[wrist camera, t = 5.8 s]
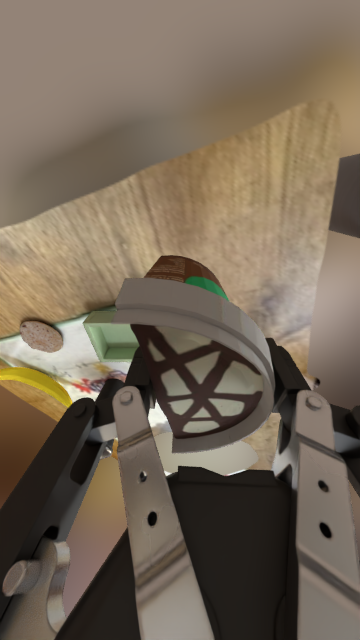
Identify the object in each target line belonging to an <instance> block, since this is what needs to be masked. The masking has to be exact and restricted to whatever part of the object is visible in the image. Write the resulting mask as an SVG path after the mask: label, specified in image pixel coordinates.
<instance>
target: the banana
mask: <svg viewBox="0 0 360 640" xmlns="http://www.w3.org/2000/svg"><path fill="white" fill-rule="evenodd" d="M0 380H16V381H20V382H23V383H26V384H29V385H31V386H34V387H36V388H38V389H40V390H42V391H44V392H46V393H48V394H49V395H51V396H53V397H54V398H56V399H57V400H58V401H60V402H61V403H63V404H64V405H65V406H67V407H68V408H69V406H70V405H71V404H72V400H71V398H70V396H69V394H68V393H67V391H66V390H65V389H64V388H63V387H62V386H61V385H60V384H59V383H57V382H56V381H55V380H53V379H52V378H50V377H49V376H47V375H45V374H43V373H41V372H39V371H36V370H33V369H30V368H24V367H11V368H5V369H0Z"/></svg>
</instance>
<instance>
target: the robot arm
mask: <svg viewBox="0 0 360 640" xmlns="http://www.w3.org/2000/svg"><path fill="white" fill-rule="evenodd" d="M265 339H266V342H267V344H268V346H269V350H270V356H271V361H272V366H273V372H274V379H275V391H274V396H273V397H274V403H273V409H272V413H280V415H281V420H280V424H279V432H278V440H277V448H276V456H275V459H274V462H273V465H272V469H271V470H250V469H249V470H246V471H243V472H240V473H236V474H233V475H230V476H223V475H220V474H218V473H215V472H212V471H210V470H207V469H205V468H202V467H188V466H178V472H175V473H172V474H170V475H168V476H167V477H166V476H165V473H164V470H163V466H162V463H161V460H160V457H159V453H158V450H157V447H156V443H155V440H154V437H153V433H152V430H151V427H150V424H149V420H148V414H149V409H150V408H153V409H155V403H156V395H155V392H154V389H153V385H152V381H151V378H150V375H149V371H148V368H147V365H146V362H145V359H144V357H143V354H142V351H141V348H140V346H139V347H138V348H137V349H136V350H135V353H134V356H133V359H132V362H131V365H130V368H129V371H128V374H127V377H126V380H125V383H124V385H123V387H122V388H121V389H120V390H119V391H117V393H116V394H115V395H114V396H112V397H110V398H107V399H103V400H100V401H97V402H94V400H93V399H91V398H81V399H79V400H77V401H75V402H74V403H72V404H71V405H70V406H69V408H68V409H67V410H66V412H65V413H64V415H63V416H62V418H61V419H60V421H59V422H58V424H57V425H56V427H55V429H54V430H53V431H52V433H51V434H50V436H49V437H48V439H47V440H46V442H45V443H44V445H43V446H42V448H41V449H40V451H39V452H38V454H37V455H36V457H35V458H34V460H33V461H32V463H31V464H30V466H29V468H28V469H27V470H26V472H25V473H24V475H23V476H22V478H21V479H20V481H19V482H18V484H17V485H16V487H15V488H14V490H13V491H12V493H11V494H10V496H9V497H8V499H7V500H6V502H5V503H4V505H3V506H2V508H1V509H0V640H360V561H359V556H358V549H357V542H356V534H355V527H354V519H353V512H352V504H351V497H350V490H349V482H348V480H349V481H350V483H351V484H352V486H353V488H354V489H355V491H356V492H357V494H358V496H359V497H360V406H356V407H354V408H353V409H352V410H348V409H345V408H342V407H339V406H335V405H332V404H329V403H328V402H327V401H326V400H325V398H323V397H322V396H321V395H319V394H318V393H316V392H314V391H312V390H311V389H310V387H309V385H308V384H307V382H306V380H305V379H304V377H303V376H302V374H301V372H300V371H299V369H298V367H296V364H295V362H294V361H293V359H292V358H291V356H290V354H289V353H288V352H287V351H286V350H285V349H284V348H283V347H282V346H277V345H276V343H275V341H274V339H273V338H265ZM117 437H118V447H117V455H118V462H119V469H120V476H121V483H122V490H123V497H124V504H125V511H126V518H127V525H128V527H127V529H126V530H125V532H124V533H123V535H122V536H121V538H120V539H119V541H118V542H117V544H116V545H115V547H114V548H113V550H112V552H111V553H110V554H109V556H108V557H107V559H106V560H105V562H104V563H103V565H102V566H101V568H100V569H99V571H98V572H97V574H96V575H95V577H94V578H93V580H92V581H91V583H90V584H89V586H88V587H87V589H86V590H85V592H84V593H83V595H82V596H81V598H80V599H79V601H78V602H77V604H76V606H75V607H74V609H73V610H72V611H71V613H70V615H69V616H68V618H67V617H66V615H65V613H64V609H63V589H64V584H65V580H66V577H67V573H68V570H69V565H70V551H69V548H68V545H67V544H66V543H65V541H66V539H67V537H68V534H69V532H70V529H71V527H72V525H73V522H74V520H75V518H76V515H77V513H78V510H79V508H80V506H81V503H82V501H83V498H84V496H85V494H86V491H87V489H88V487H89V484H90V482H91V480H92V477H93V475H94V472H95V470H96V468H97V465H98V463H99V460H100V458H101V456H102V454H103V451H104V449H105V446H106V444H107V442H108V440H111V439H114V438H117Z"/></svg>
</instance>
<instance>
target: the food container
mask: <svg viewBox="0 0 360 640" xmlns="http://www.w3.org/2000/svg"><path fill="white" fill-rule="evenodd" d="M115 305H116V308H117V311H116V313H115V315H114V317H113V319H112V320H111V324H130V327H131V330H132V331H133V333H134V334H135V336H136V339H137V341H138V343H139V346H140V348H141V351H142V354H143V357H144V359H145V362H146V365H147V368H148V371H149V375H150V378H151V381H152V385H153V389H154V392H155V395H156V399H157V402H158V404H159V406H160V408H161V410H162V411H163V413H164V414H165V415H166V417H167V419H168V422H169V424H170V427H171V429H172V432H173V441H172V453H193V452H201V451H208V450H213V449H217V448H221V447H225V446H228V445H231V444H234V443H236V442H239V441H241V440H243V439H245V438H247V437H248V436H250V435H252V434H253V433H255V432H256V431H257V430H258V429H260V428H261V427H262V426H263V425H264V423H265V422H266V421H267V420H268V418H269V416H270V414H271V412H272V409H273V403H274V397H273V396H274V391H275V379H274V372H273V366H272V361H271V356H270V350H269V346H268V344H267V342H266V339H265V337H264V334H263V333H262V332H261V330H260V329H259V327H258V326H257V325H256V323H255V322H254V321H253V320H252V319H251V318H250V317H249V316H248V315H247V314H246V313H245V312H243V311H242V310H241V309H240V308H239V307H237V306H236V305H234V304H233V303H231V302H229V300H228V298H227V296H226V294H225V292H224V290H223V288H222V286H221V285H220V283H219V281H218V279H217V278H216V277H215V275H214V274H213V273H212V272H211V271H210V270H209V269H208V268H207V267H205V266H204V265H202V264H201V263H199V262H197V261H194V260H192V259H190V258H186V257H182V256H173V255H169V256H161V257H160V258H159V259H158V260H157V262H156V263H155V264H154V265H153V267H152V268H151V269H150V270H149V271H148V273H147V274H146V275H145V276H144V278H129V279H125V280H124V282H123V285H122V287H121V290H120V292H119V295H118V297H117V300H116V302H115Z"/></svg>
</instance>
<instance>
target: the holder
mask: <svg viewBox="0 0 360 640" xmlns="http://www.w3.org/2000/svg"><path fill="white" fill-rule="evenodd" d="M115 313H116V311H92V312H91V313H90V315H89V316H88V317H87V318H86V320H85V321H84V322H83V325H84V328H85V330H86V332H87V334H88V336H89V338H90V341H91V343H92V345H93V347H94V349H95V352H96V354H97V356H98V358H99V360H100V362H132V359H133V356H134V353H135V350H136V349H137V348H138V347H139V343H138V341H137V339H136V336H135V334H134V333H133V331H132V330H131V327H130V324H111V320H112V319H113V317H114V315H115Z"/></svg>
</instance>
